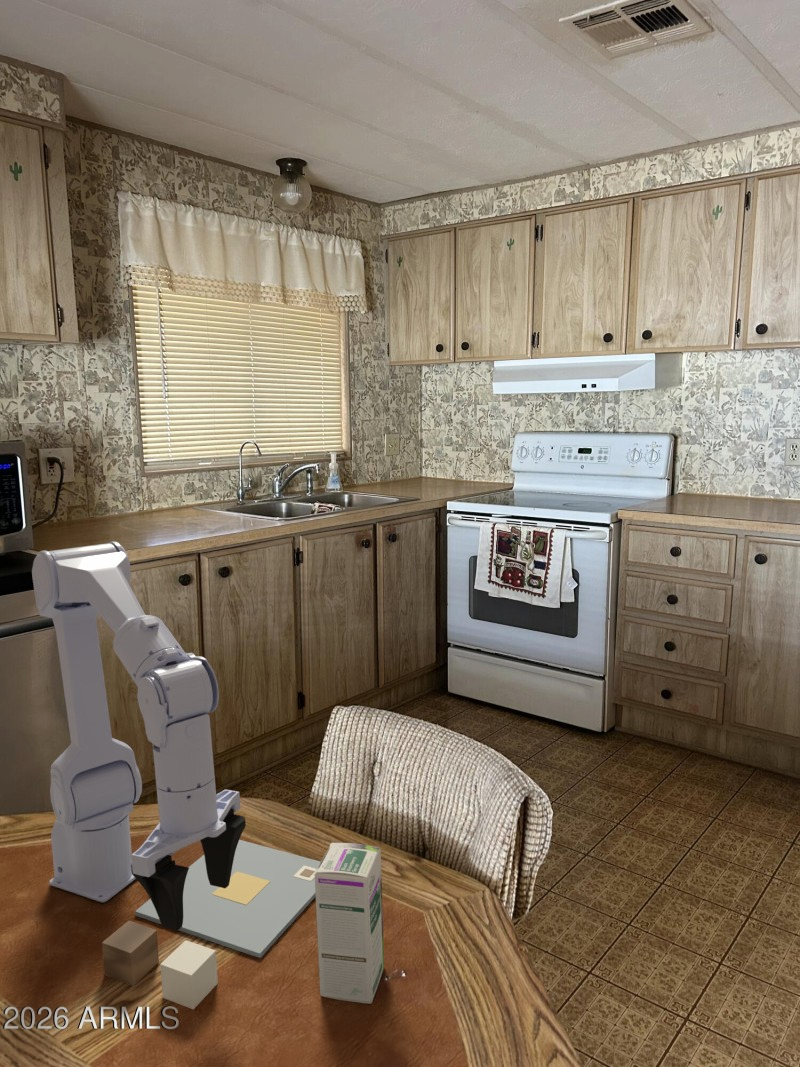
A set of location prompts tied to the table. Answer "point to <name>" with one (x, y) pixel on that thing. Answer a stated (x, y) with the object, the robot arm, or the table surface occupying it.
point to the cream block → (189, 974)
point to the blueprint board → (245, 899)
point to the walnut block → (130, 952)
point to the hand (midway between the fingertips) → (196, 905)
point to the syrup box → (350, 922)
